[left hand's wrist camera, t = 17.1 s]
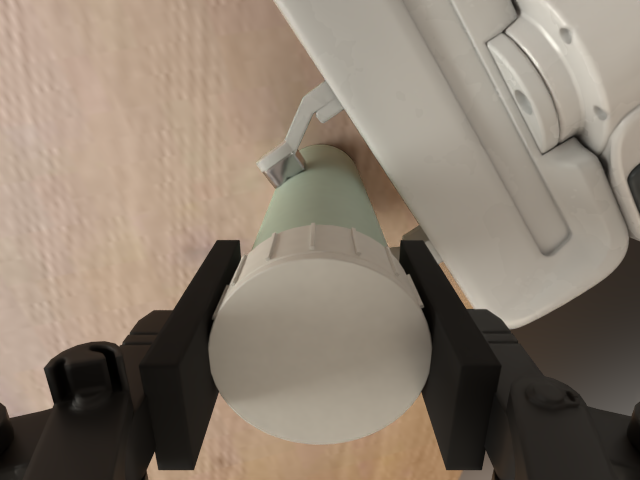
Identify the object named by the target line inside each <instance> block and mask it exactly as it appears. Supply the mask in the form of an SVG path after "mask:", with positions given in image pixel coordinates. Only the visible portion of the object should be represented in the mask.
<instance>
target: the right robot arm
mask: <svg viewBox="0 0 640 480" xmlns="http://www.w3.org/2000/svg"><path fill="white" fill-rule="evenodd" d="M273 1H274V3H275V4H276V6H277V7H278V9H279V10H280V12H281V14H282V15H283V17H284V18H285V20H286V21H287V23H288V24H289V26H290V27H291V29H292V30H293V32H294V34H295V35H296V37H297V38H298V40H299V41H300V43H301V44H302V46H303V47H304V48H305V50H306V51H307V53H308V54H309V56H310V58H311V59H312V61H313V62H314V64H315V65H316V67H317V68H318V70H319V71H320V73H321V74H322V76H323V78H324V79H325V80H324V81H323V82H322V83H320V84H319V85H318V86H317V87H315V88H314V89H313V90H311V91H310V92H309V93H307V94H306V95H305V96H304V97H303V99H302V101H301V103H300V105H299V108H298V110H297V112H296V115H295V117H294V119H293V122H292V124H291V126H290V129H289V131H288V133H287V135H286V138H285V140H284V141H282V142H281V143H280V144H278V145H277V146H276V147H274V148H273V149H271V150H270V151H269V152H267V153H266V154H265V155H264V156H262V157H261V158H260V159H259V160H258V161H257V163H256V165H257V166H258V167H259V169H260V170H261V172H262V173H263V174H264V175H265V176H266V178H267V179H268V180H269V182H270V183H271V184H272V185H273V187H274V188H275V189H276V188H278V187H280V186H281V185H282V184H284V183H285V182H286V180H287V177H293V176H295V175H297V174H299V173H300V172H301V171H303V170H304V169H305V164H306V161H305V159H304V158H303V156H302V155H301V153H300V152H299V150H298V147H299V145H300V143H301V140H302V138H303V136H304V134H305V131H306V129H307V127H308V125H309V122H310V120H311V118H312V116H313V114H314V113H315V112H316V117H317V118H318V119H319V121H320V122H321V123H325V122H326V121H328V120H329V119H331V118H332V117H334V116H335V115H336V114H338V113H339V112H341V111H342V110H345V111H346V113H347V114H348V116H349V117H350V119H351V121H352V122H353V124H354V125H355V127H356V128H357V130H358V131H359V133H360V134H361V136H362V137H363V139H364V141H365V142H366V144H367V145H368V147H369V148H370V150H371V151H372V153H373V154H374V156H375V157H376V159H377V160H378V162H379V164H380V165H381V167H382V168H383V170H384V171H385V173H386V174H387V176H388V177H389V179H390V180H391V182H392V184H393V185H394V187H395V188H396V190H397V191H398V193H399V194H400V196H401V197H402V199H403V200H404V202H405V204H406V205H407V207H408V208H409V210H410V211H411V213H412V214H413V216H414V217H415V219H416V220H417V222H418V223H419V226H417V227H416V228H414V229H413V230H411V231H410V232H408V233H407V234H405V235H403V237H402V240H423V241H424V242H425V244H426V246H427V247H428V249H429V250H430V252H431V253H432V255H433V257H434V258H435V260H436V261H437V263H438V264H440V263H441V262H444V263H445V265H446V267H447V268H448V270H449V271H450V273H451V275H452V276H453V278H454V279H455V281H456V282H457V284H458V285H459V287H460V289H461V290H462V292H463V293H464V295H465V296H466V298H467V299H468V301H469V302H470V304H471V305H472V307H473V308H474V309H487V310H489V311H490V312H492V313H493V314H495V315H496V316H498V317H499V318H501V319H502V320H503V322H504V323H505V324H506V326H507V327H508V328H509V329H515V328H518V327H521V326H524V325H526V324H528V323H530V322H532V321H534V320H536V319H538V318H540V317H542V316H544V315H546V314H548V313H550V312H551V311H553V310H555V309H557V308H558V307H560V306H562V305H564V304H565V303H567V302H569V301H570V300H572V299H574V298H575V297H577V296H579V295H580V294H582V293H584V292H585V291H587V290H588V289H590V288H591V287H593V286H594V285H596V284H598V283H599V282H600V281H602V280H603V279H604V278H606V277H607V276H608V275H609V274H611V273H612V272H613V271H614V270H615V269H616V268H617V267H618V265H619V264H620V263H621V261H622V260H623V258H624V256H625V254H626V252H627V249H628V244H629V237H631V238H633V239H636V240H638V241H640V0H273ZM389 249H390V251H391V253H392V255H393V256H394V257H395V258H396V259H397V260H398V262H399V256H400V247H392V248H389Z"/></svg>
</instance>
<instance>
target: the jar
mask: <svg viewBox="0 0 640 480" xmlns="http://www.w3.org/2000/svg"><path fill="white" fill-rule="evenodd" d="M299 152H300V153H301V155H302V156H303V158H304V159H305V161H306V164H305V169H304V170H303V171H301V172H300V173H299V174H297V175H295V176H293V177H287V180H286V182H285V183H284V184H282V185H281V186H280V187H278V188H276V190H275V192H274V195H273V197H272V200H271V202H270V205H269V207H268V210H267V212H266V215H265V217H264V220H263V222H262V225H261V227H260V230H259V232H258V235H257V238H256V240H255V243H254V245H253V248H252V250H253V249H254V248H255V247H257V246H258V245H259V244H260V243H262V242H263V241H265V240H266V239H268V238H270V237H271V236H272V233H275V232H276V233H277V234H278V233H280V232H282V231H286V230H289V229H292V228H296V227H301V226H306V225H311V223H315V225H334V226H339V227H345V228H349V229H351V228H352V227H353V228H356V231H358V232H360V233H362V234H365V235H367V236H369V237H371V238H372V239H374V240H375V241H377V242H379V243H380V244H381V245H383V246H384V247H386V246H388V245H387V243H386V240H385V238H384V235H383V233H382V230H381V228H380V225H379V223H378V220H377V218H376V215H375V213H374V210H373V208H372V205H371V203H370V200H369V197H368V195H367V192H366V190H365V187H364V185H363V182H362V180H361V177H360V175H359V172H358V170H357V167H356V165H355V164H354V162H353V161H352V159H351V158H350V157H349V156H348V155H347V154H346V153H345V152H343V151H342V150H340V149H338V148H336V147H333V146H329V145H323V144H320V145H311V146H308V147H305V148H303V149H301V150H299ZM252 250H251V251H252Z"/></svg>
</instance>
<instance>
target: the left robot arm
mask: <svg viewBox="0 0 640 480" xmlns="http://www.w3.org/2000/svg"><path fill="white" fill-rule="evenodd" d="M240 261H241V253H240V240H217V241H216V243H215V244H214V246H213V248H212V249H211V251H210V252H209V254H208V255H207V257H206V259H205V260H204V262H203V263H202V265H201V267H200V268H199V270H198V271H197V273H196V275H195V276H194V278H193V279H192V281H191V283H190V284H189V286H188V287H187V289H186V291H185V292H184V294H183V295H182V297H181V299H180V300H179V302H178V303H177V305H176V306H175V308H174V310H154V311H152V312H151V313H149V314H148V315H146V316H145V317H143V318H142V319H140V320H139V321H138V322H137V324H136V325H135V326H134V328H133V329H132V330H131V332H130V335H128V336H127V337H126V338H125V340H124V341H123V344H122V345H120V347H119V346H117V345H116V344H114V343H110V342H106V341H102V342H89V343H85V344H81V345H77V346H74V347H72V348H70V349H67V350H65V351H63V352H61V353H60V354H58V355H57V356H55V357H54V358H53V359H51V360H50V361H49V363H48V364H47V365H46V366H45V367H44V371H45V374H46V378H47V381H48V385H49V388H50V392H51V395H52V398H53V402H54V406H53V408H51V409H48V410H44V411H40V412H36V413H31V414H27V415H22V416H18V417H13V418H9V415H8V412H7V410H6V407H5V406H4V405H2V404H1V403H0V480H148V475H147V468H148V466H149V463H150V461H151V459H152V456H153V454H154V452H155V454H156V460H157V465H158V470H194V468H195V465H196V462H197V459H198V455H199V452H200V449H201V446H202V443H203V440H204V437H205V434H206V430H207V427H208V424H209V421H210V418H211V415H212V412H213V409H214V405H215V402H216V399H217V396H218V393H219V390H218V388H217V387H216V385H215V382H214V380H213V377H212V374H211V369H210V361H209V351H208V342H209V335H210V331H211V328H212V324H213V322H214V320H212V317H213V314H214V312H215V310H216V308H217V305H218V303H219V301H220V299H221V296H222V294H223V292H224V290H225V287H226V285H230V282H231V280H232V278H233V276H234V274H235V271H236V270H237V268H238V266H239V263H240ZM399 263H400V265H401V266H402V268H403V269H404V271H405V273H406V275H408V274H410V276H411V279H412V281H413V283H414V285H415V287H416V290H417V292H418V294H419V296H420V299H421V301H422V303H423V305H424V308H421V309H422V312H423V314H424V316H425V318H426V321H427V323H428V327H429V330H430V334H431V340H432V354H431V363H430V371H429V375H428V378H427V381H426V383H425V385H424V387H423V389H422V391H421V392H422V395H423V398H424V402H425V405H426V408H427V411H428V414H429V417H430V420H431V423H432V427H433V430H434V433H435V436H436V439H437V442H438V445H439V448H440V452H441V455H442V458H443V461H444V464H445V467H446V470H482V466H483V461H484V455H485V451H487V454H488V456H489V458H490V460H491V463H492V465H493V467H494V470H493V475H492V480H640V402H639V403H638V404H636V405H635V408H634V411H633V413H632V416H626V415H622V414H617V413H613V412H608V411H604V410H599V409H595V408H592V407H588V406H587V405H586V403H585V402H584V400H583V399H582V398H581V396H580V395H579V394H578V393H577V392H576V391H575V390H573V389H572V388H571V387H569V386H568V385H566V384H564V383H562V382H560V381H558V380H556V379H553V378H549V377H546V376H544V375H543V374H542V373H541V371H540V370H539V368H538V367H537V366H536V364H535V363H534V362H533V360H532V359H531V358H530V356H529V355H528V354H527V352H526V351H525V350H524V348H523V347H522V346H521V344H518V340H517V339H516V338H515V336H514V335H513V334H511V331H510V330H509V328H508V327H507V326H506V324H505V323H504V322H503V320H502V319H501V318H499V317H498V316H496V315H495V314H493V313H492V312H490V311H489V310H487V309H466V308H465V306H464V304H463V303H462V301H461V300H460V298H459V296H458V295H457V293H456V292H455V290H454V289H453V287H452V285H451V284H450V282H449V281H448V279H447V277H446V276H445V274H444V273H443V271H442V269H441V268H440V266H439V265H438V263H437V261H436V260H435V258H434V257H433V255H432V253H431V252H430V250H429V249H428V247H427V246H426V244H425V242H424V241H423V240H401V243H400V256H399Z"/></svg>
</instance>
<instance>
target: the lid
mask: <svg viewBox="0 0 640 480" xmlns="http://www.w3.org/2000/svg"><path fill="white" fill-rule="evenodd" d="M421 308H424V305H423V303H422V301H421V299H420V296H419V294H418V292H417V290H416V287H415V285H414V283H413V281H412V279H411V276H410V274H408V275H406V273H405V271H404V269H403V268H402V266H401V265H400V263H399V262H398V260H397V259H396V258H395V257H394V256H393V255H392V253H391V251H390V249H389V247H388V246H386V247H384V246H383V245H381V244H380V243H379V242H377V241H375V240H374V239H372V238H371V237H369V236H367V235H365V234H362V233H360V232H358V231H356V228H353V227H352V228H351V229H349V228H345V227H339V226H334V225H315V223H311V225H306V226H301V227H296V228H292V229H289V230H286V231H282V232H280V233H278V234H277V233H276V232H275V233H272V236H271V237H270V238H268V239H266V240H265V241H263V242H262V243H260V244H259V245H258V246H257V247H255V248H254V249H253V250H252V251H251V252H250V253H249V254H248V255H247V256H246V255H245V254H244V255H243V256H242V259H241V261H240V263H239V266H238V268H237V270H236V271H235V274H234V276H233V278H232V280H231V282H230V285H226V287H225V290H224V292H223V294H222V296H221V299H220V301H219V303H218V305H217V308H216V310H215V312H214V314H213V317H212V320H214V322H213V324H212V328H211V331H210V335H209V342H208V351H209V361H210V369H211V374H212V377H213V380H214V382H215V385H216V387H217V388H218V390H219V392H220V394H221V396H222V397H223V398H224V400H225V401H226V402H227V404H228V405H229V406H230V407H231V408H232V409H233V410H234V411H235V412H236V413H237V414H238V415H239V416H240V417H241V418H243V419H244V420H245V421H246V422H248V423H249V424H251V425H252V426H254V427H256V428H257V429H259V430H261V431H263V432H265V433H267V434H269V435H272V436H275V437H278V438H280V439H284V440H288V441H292V442H297V443H304V444H318V445H323V444H337V443H343V442H349V441H352V440H356V439H360V438H363V437H365V436H368V435H371V434H373V433H375V432H377V431H379V430H381V429H383V428H385V427H386V426H388V425H389V424H391V423H393V422H394V421H395V420H397V419H398V418H399V417H400V416H401V415H403V414H404V413H405V412H406V411H407V410H408V409H409V408H410V406H411V405H412V404H413V403H414V402H415V400H416V399H417V397H418V396H419V395H420V393H421V391H422V389H423V387H424V385H425V383H426V381H427V378H428V375H429V371H430V363H431V354H432V340H431V334H430V330H429V327H428V323H427V321H426V318H425V316H424V314H423V312H422V309H421Z"/></svg>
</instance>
